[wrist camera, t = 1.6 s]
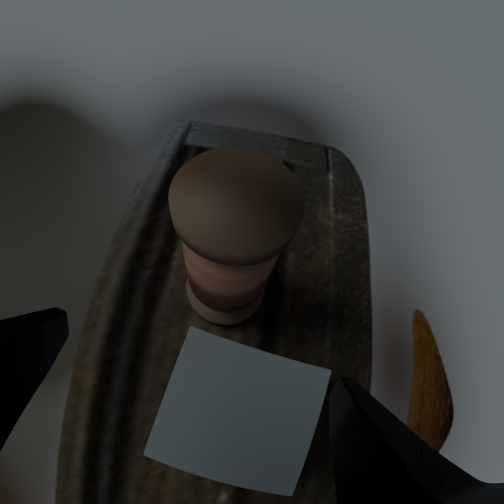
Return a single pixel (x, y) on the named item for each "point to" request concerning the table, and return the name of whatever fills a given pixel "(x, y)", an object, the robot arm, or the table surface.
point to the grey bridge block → (238, 414)
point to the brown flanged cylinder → (233, 228)
